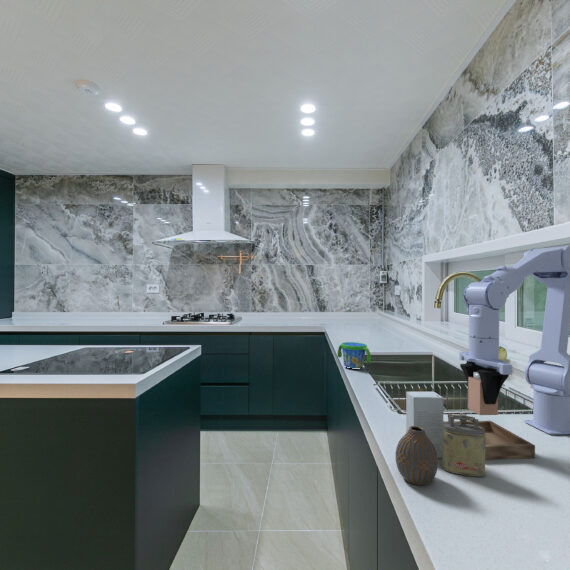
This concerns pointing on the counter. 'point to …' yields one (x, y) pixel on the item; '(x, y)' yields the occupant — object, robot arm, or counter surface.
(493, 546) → the counter surface
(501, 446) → the tray
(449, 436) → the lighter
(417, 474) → the vase
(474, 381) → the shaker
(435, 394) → the skincare box
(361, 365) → the snack cup
